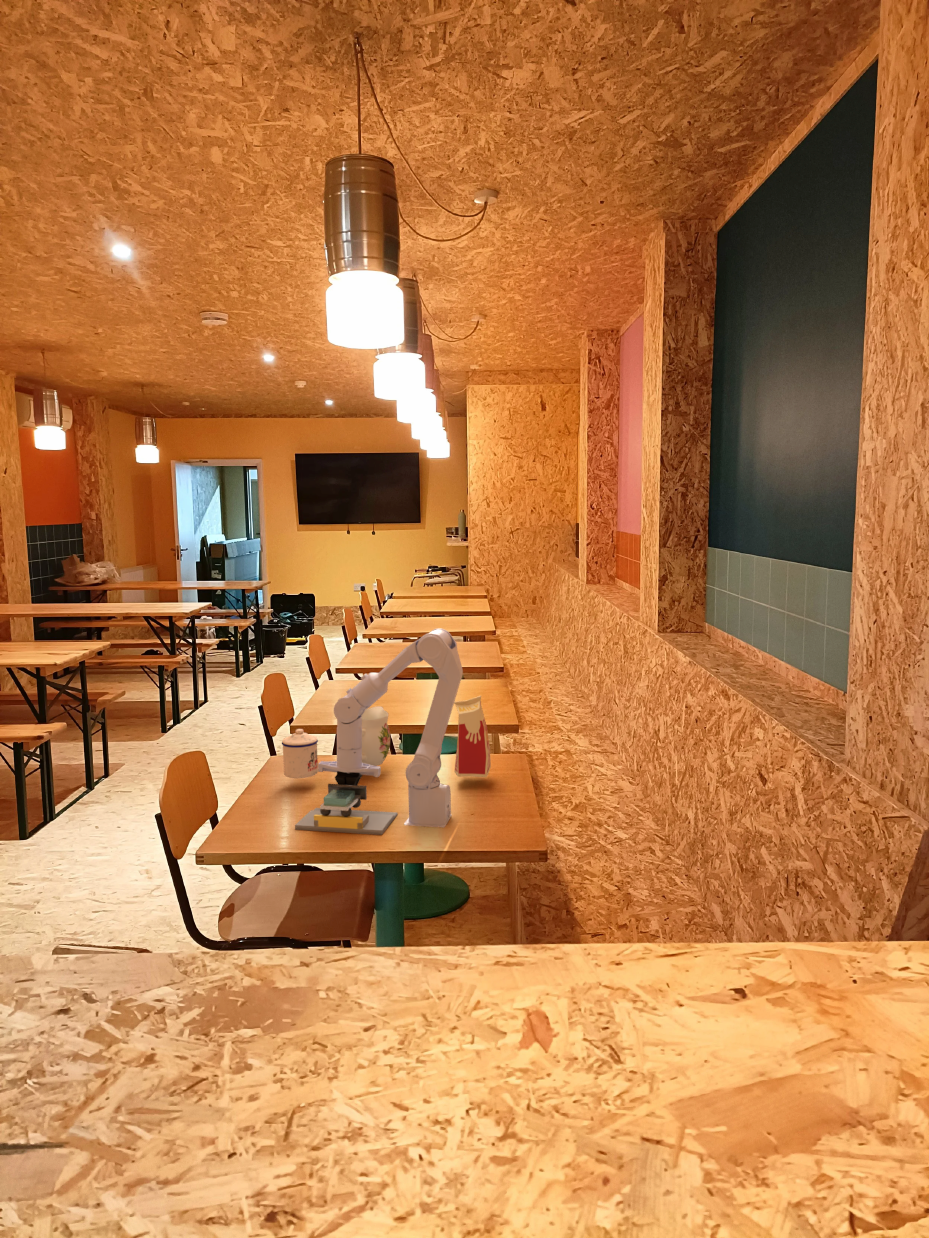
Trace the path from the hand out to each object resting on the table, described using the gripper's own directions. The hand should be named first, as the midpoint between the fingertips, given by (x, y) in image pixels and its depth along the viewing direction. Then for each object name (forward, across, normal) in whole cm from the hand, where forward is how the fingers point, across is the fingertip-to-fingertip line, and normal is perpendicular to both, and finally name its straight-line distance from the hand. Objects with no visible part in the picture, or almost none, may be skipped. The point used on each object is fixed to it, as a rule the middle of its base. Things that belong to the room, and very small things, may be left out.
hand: (349, 803), depth 185 cm
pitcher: (0, +4, -29) cm, 29 cm away
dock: (+3, -1, +4) cm, 5 cm away
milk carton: (-1, -24, -26) cm, 35 cm away
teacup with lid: (+1, +20, -19) cm, 27 cm away
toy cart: (-1, -1, +7) cm, 7 cm away
